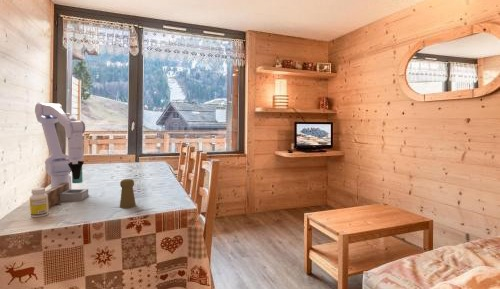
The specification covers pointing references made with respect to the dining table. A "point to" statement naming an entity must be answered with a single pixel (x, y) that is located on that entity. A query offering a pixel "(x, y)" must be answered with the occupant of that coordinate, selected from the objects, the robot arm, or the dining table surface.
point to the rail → (56, 193)
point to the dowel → (77, 179)
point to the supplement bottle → (39, 203)
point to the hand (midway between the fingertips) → (77, 178)
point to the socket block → (73, 194)
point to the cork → (127, 194)
